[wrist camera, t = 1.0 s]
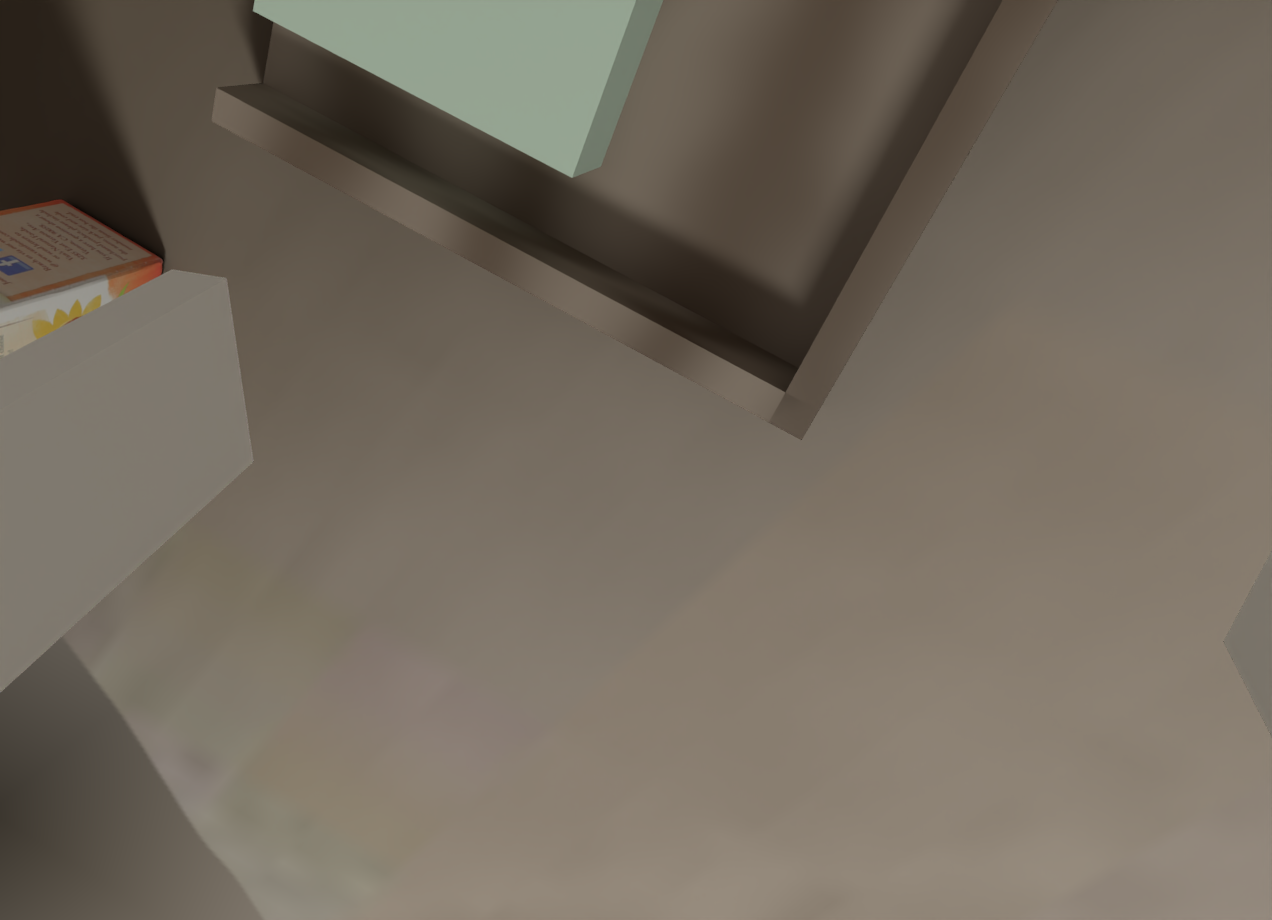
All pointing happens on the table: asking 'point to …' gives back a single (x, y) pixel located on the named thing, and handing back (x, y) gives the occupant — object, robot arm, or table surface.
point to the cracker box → (61, 269)
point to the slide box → (689, 176)
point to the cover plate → (496, 62)
